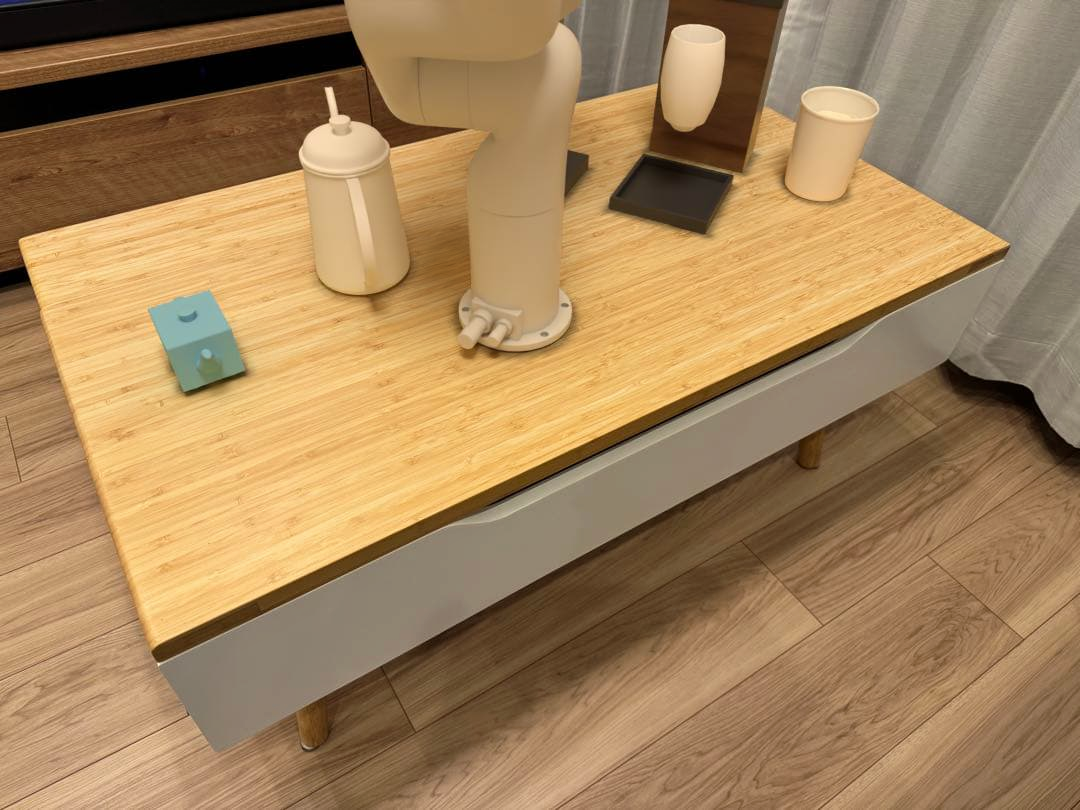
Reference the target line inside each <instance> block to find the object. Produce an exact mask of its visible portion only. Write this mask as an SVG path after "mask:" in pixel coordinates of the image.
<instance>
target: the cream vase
mask: <svg viewBox="0 0 1080 810" xmlns="http://www.w3.org/2000/svg"><path fill="white" fill-rule="evenodd" d="M724 59H725V35H724V33H723V32H721V31H720V30H718V29H716V28H713V27H710V26H705V25H697V24H688V25H681V26H678V27H676V28H674V30H673V31H672V32H671V35H670V39H669V42H668V46H667V49H666V53H665V56H664V62H663V68H662V74H661V103H662V109H663V115H664V119H665V120H666V121H667V122H669V123H670V124H671V125H672V127H673V128H674V129H676V130H678V131H682V132H688V131H692V130H693V129H695V128H696V127H697V126H700V125H702V124H704V123H705V121H706V119H707V117H708V115H709V113H710V111H711V109H712V107H713V105H714V103H715V100H716V97H717V94H718V92H719V89H720V86H721V80H722V74H723V67H724Z"/></svg>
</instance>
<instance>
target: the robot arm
mask: <svg viewBox="0 0 1080 810" xmlns="http://www.w3.org/2000/svg"><path fill="white" fill-rule="evenodd" d="M583 1H584V0H343V2H344V7H345V12H346V16H347V20H348V24H349V26H350V29H351V32H352V35H353V37H354V40H355V42H356V45H357V48H358V49H359V51H360V53H361V56H362V57H363V60H364V62H365V64H366V66H367V68H368V70H369V72H370V75H371V77H372V79H373V81H374V83H375V85H376V87H377V89H378V91H379V93H380V96H381V97H382V100H383V101H384V103H385V105H386V107H387V109H388V110H389V111H390V112H391V113H392V115H394V117H395V118H397V119H398V120H400V121H401V122H404V123H407V124H411V125H417V126H425V127H440V128H453V129H465V130H466V129H467V130H473V131H480V132H485V133H486V132H487V133H489V134H488V135H487V137H485V139H484V140H483V141H482V142H481V143H480V145H479V146H478V147H477V149H476V150H475V151H474V153H473V155H472V157H471V158H470V161H469V164H468V167H467V171H466V181H465V182H466V199H467V219H468V221H467V222H468V241H469V260H470V262H469V263H470V281H471V282H470V283H471V287H469V288H468V289H467V290H466V291H465V293H464V294H463V295H462V297H461V298H460V300H459V302H458V308H457V309H458V319H459V323H460V326H461V328H462V330H461V331H460V333H459V334H458V335H457V336H456V341H457V343H458V345H459V346H460V347H462V348H464V349H466V350H472V349H473V348H474V346H475V345H476V344H477V343H479V344H481V345H483V346H485V347H488V348H491V349H495V350H497V351H504V352H526V351H533V350H537V349H541V348H544V347H545V346H546V347H547V346H548V345H551V344H552V343H554V342H556V341H557V340H559V339H561V338H562V337H563V336H564V334H566V332H567V331H568V329H569V328H570V326H571V323H572V319H573V305H572V302H571V299H570V297H569V296H568V295H567V293H566V292H565V291H564V290H563V289H562V288H561V285H560V283H561V267H562V266H561V264H562V248H563V247H562V246H563V228H564V227H563V225H564V210H565V197H564V192H565V175H566V163H567V152H568V150H569V142H570V136H571V130H572V125H573V124H572V123H573V118H574V114H575V109H576V105H577V99H578V94H579V90H580V86H581V85H580V84H581V78H582V67H583V66H582V65H583V58H582V51H581V47H580V43H579V41H578V39H577V37H576V35H575V34H574V33H573V31H571V29H570V28H569V27H568V26H566V25H565V18H566V17H567V16H569V15H570V14H571V13H572V12H574V11H575V10H576V9H577V8H579V6H581V5H582V3H583Z"/></svg>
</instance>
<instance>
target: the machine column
mask: <svg viewBox="0 0 1080 810" xmlns="http://www.w3.org/2000/svg"><path fill="white" fill-rule="evenodd" d="M789 1H790V0H668V6H667V14H666V15H667V16H666V19H665V20H666V21H665V28H664V36H663V44H662V52H661V58H660V66H659V71H658V73H659V74H658V81H657V88H656V96H655V102H654V110H653V118H652V125H651V131H650V132H651V133H650V141H649V148H648V151H649V152H653V153H657V154H661V155H665V156H669V157H672V158H673V157H674V158H678V159H681V160H686V161H691V162H695V163H699V164H703V165H707V166H711V167H716V168H719V169H723V170H724V169H725V170H729V171H732V172H737V173H740V174H742V173H744V171H745V169H746V167H747V165H748V163H749V161H750V160H751V158H752V156H753V153H754V148H755V145H756V140H757V136H758V133H759V128H760V124H761V120H762V117H763V116H762V115H763V111H764V106H765V103H766V98H767V94H768V90H769V85H770V81H771V77H772V74H773V73H772V72H773V68H774V64H775V60H776V56H777V52H778V48H779V44H780V39H781V35H782V32H783V27H784V22H785V18H786V14H787V9H788V5H789ZM688 24H697V25H705V26H710V27H713V28H716V29H718V30H720V31H721V32H723V33H724V35H725V59H724V67H723V74H722V80H721V86H720V89H719V92H718V94H717V97H716V100H715V103H714V105H713V107H712V109H711V111H710V113H709V115H708V117H707V119H706V121H705V123H704V124H702V125H700V126H697V127H696V128H695V129H693V130H692V131H688V132H682V131H678V130H676V129H674V128H673V127H672V125H671V124H670V123H669V122H667V121H666V120H665V119H664V115H663V109H662V103H661V74H662V68H663V62H664V56H665V53H666V49H667V46H668V42H669V39H670V35H671V32H672V31H673V30H674V28H676V27H678V26H681V25H688Z"/></svg>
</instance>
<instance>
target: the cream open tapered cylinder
mask: <svg viewBox="0 0 1080 810" xmlns="http://www.w3.org/2000/svg"><path fill="white" fill-rule="evenodd" d="M799 100H800V101H799V108H798V112H797V116H796V117H797V118H796V121H795V122H796V123H795V126H794V131H793V136H792V142H791V146H790V151H789V155H788V158H787V159H788V160H787V165H786V170H785V174H784V185H785V187H786V189H788V191H789V192H791V193H792V194H793V195H795V196H798V197H799V198H802V199H805V200H808V201H813V202H831V201H832V202H833V201H836V200H838V199H840V198H841V197H843V196H844V194H845V193H846V191H847V188H848V187H849V185H850V181H851V179H852V177H853V174H854V172H855V169H856V167H857V165H858V162H859V160H860V158H861V155H862V153H863V150H864V148H865V145H866V143H867V141H868V138H869V135H870V134H871V131H872V129H873V126H874V124H875V121H876V119H877V117H878V115H879V114H880V105H879V103H878V102H877V101H876V100H875V99H874V97H871V96H870V95H868V94H866V93H864V92H861V91H859V90H855V89H853V88H848V87H844V86H836V85H835V86H834V85H824V86H815V87H812V88H809V89H807V90H805V91H804V92H803V93H802V94H801V96H800V99H799Z"/></svg>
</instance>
